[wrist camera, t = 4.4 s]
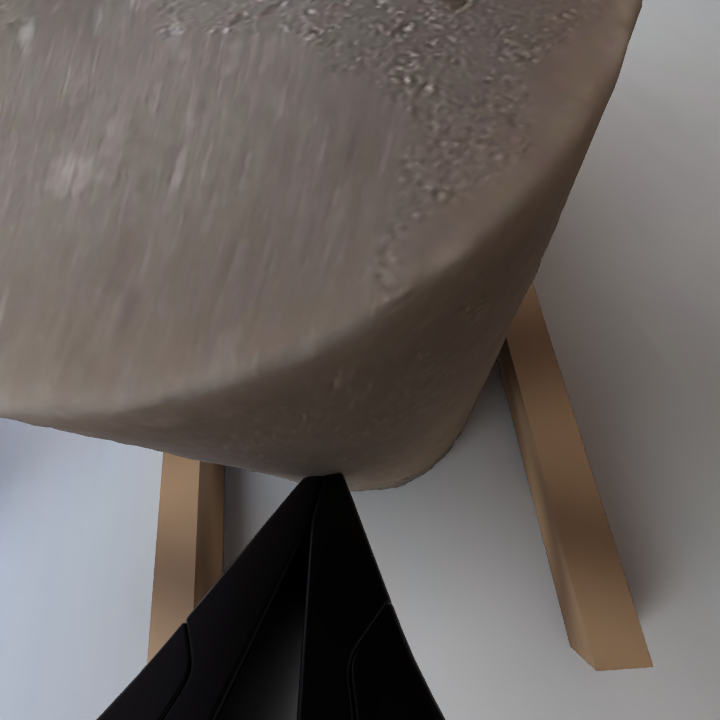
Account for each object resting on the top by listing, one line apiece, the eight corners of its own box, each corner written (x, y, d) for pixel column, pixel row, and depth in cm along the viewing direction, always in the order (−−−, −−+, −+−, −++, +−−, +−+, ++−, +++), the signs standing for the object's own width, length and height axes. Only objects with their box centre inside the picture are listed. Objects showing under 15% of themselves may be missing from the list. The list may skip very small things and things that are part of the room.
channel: (618, 643, 12) (702, 701, 9) (180, 676, 14) (94, 739, 10) (486, 193, 19) (502, 119, 16) (202, 247, 21) (154, 191, 17)
